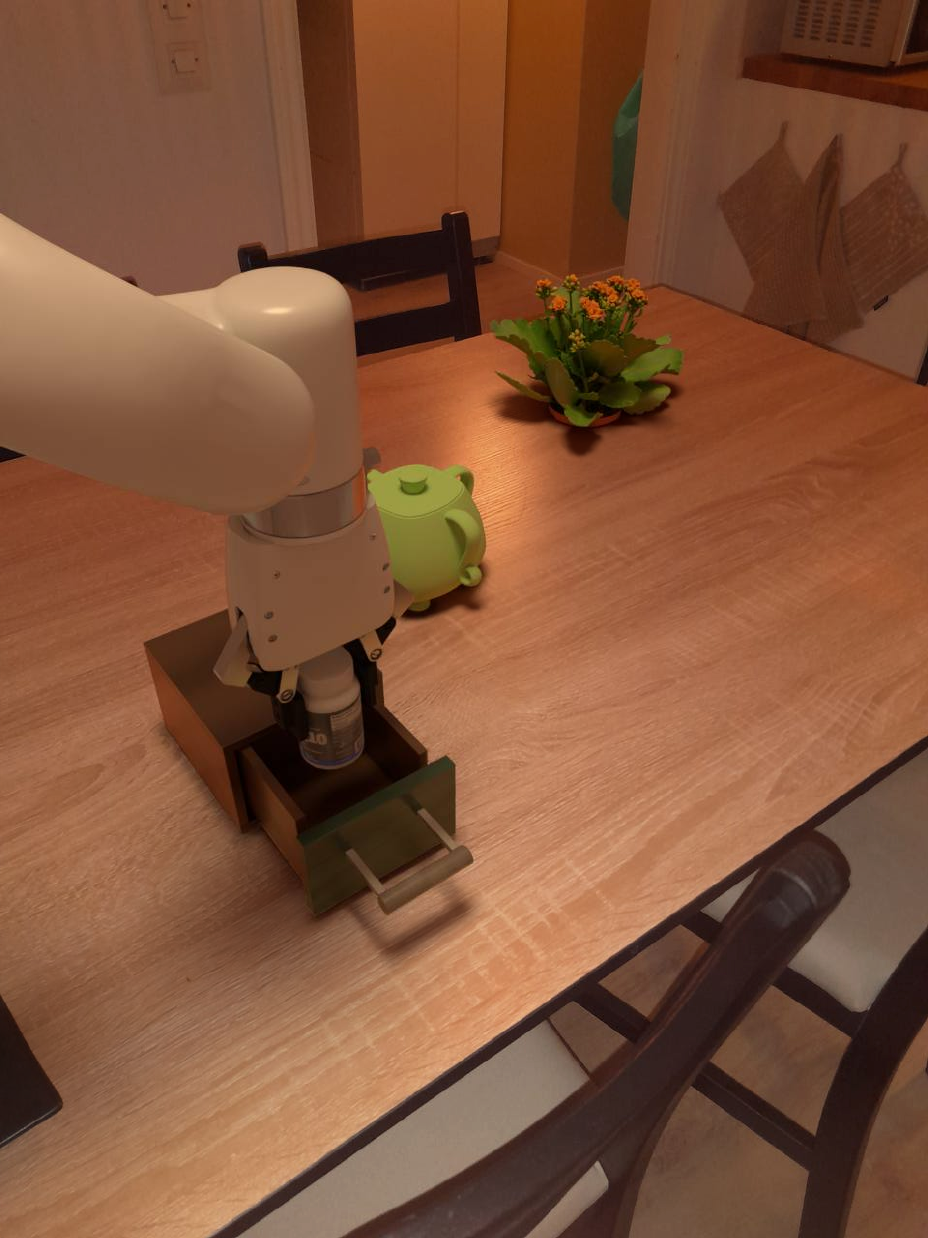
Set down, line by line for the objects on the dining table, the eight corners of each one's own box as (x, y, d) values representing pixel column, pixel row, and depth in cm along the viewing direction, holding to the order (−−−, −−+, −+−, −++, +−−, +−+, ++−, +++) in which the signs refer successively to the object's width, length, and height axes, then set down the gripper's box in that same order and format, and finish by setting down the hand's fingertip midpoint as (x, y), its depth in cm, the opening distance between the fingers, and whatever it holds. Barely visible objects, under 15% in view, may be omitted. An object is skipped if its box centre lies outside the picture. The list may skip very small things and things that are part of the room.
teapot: (482, 634, 94) (485, 525, 86) (337, 630, 95) (327, 521, 87) (485, 540, 107) (488, 438, 99) (356, 537, 107) (349, 434, 99)
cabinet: (388, 757, 81) (382, 672, 75) (241, 834, 75) (222, 748, 69) (302, 664, 91) (291, 582, 85) (165, 726, 84) (142, 642, 78)
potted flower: (651, 472, 118) (671, 334, 107) (467, 442, 124) (468, 309, 113) (680, 386, 137) (699, 262, 126) (519, 364, 143) (524, 243, 132)
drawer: (502, 884, 71) (505, 814, 66) (357, 977, 65) (349, 908, 60) (362, 732, 82) (356, 663, 78) (229, 799, 77) (214, 729, 72)
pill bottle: (286, 747, 71) (272, 660, 65) (337, 715, 73) (328, 629, 68) (327, 782, 68) (316, 695, 63) (378, 748, 71) (372, 661, 65)
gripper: (387, 425, 63) (398, 638, 75) (138, 508, 55) (193, 733, 67) (455, 472, 59) (456, 692, 70) (194, 570, 51) (243, 800, 62)
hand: (328, 710), depth 68 cm, fingers closed on pill bottle, 4 cm apart
